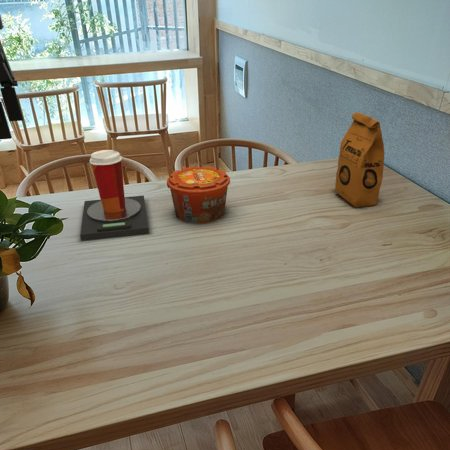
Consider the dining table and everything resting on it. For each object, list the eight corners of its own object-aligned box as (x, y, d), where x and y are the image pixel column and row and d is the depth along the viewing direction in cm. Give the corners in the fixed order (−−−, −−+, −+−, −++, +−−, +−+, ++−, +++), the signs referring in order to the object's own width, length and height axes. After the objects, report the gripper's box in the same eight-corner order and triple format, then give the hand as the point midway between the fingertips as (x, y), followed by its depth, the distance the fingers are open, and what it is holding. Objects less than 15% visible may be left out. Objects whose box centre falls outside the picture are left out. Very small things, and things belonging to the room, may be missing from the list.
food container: (241, 219, 116) (241, 179, 110) (185, 234, 110) (182, 193, 103) (212, 198, 127) (211, 161, 121) (160, 210, 121) (156, 172, 115)
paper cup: (118, 199, 120) (109, 147, 111) (135, 208, 115) (127, 153, 107) (93, 208, 115) (81, 154, 107) (109, 217, 111) (99, 162, 103)
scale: (82, 244, 107) (79, 231, 105) (86, 209, 123) (83, 197, 121) (149, 236, 109) (147, 224, 107) (144, 203, 125) (143, 192, 123)
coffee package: (349, 210, 119) (362, 124, 106) (329, 192, 129) (339, 112, 116) (383, 206, 121) (400, 121, 108) (361, 189, 131) (374, 109, 118)
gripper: (-20, 8, 70) (19, 145, 82) (9, 1, 89) (38, 113, 102) (-72, 9, 68) (-24, 149, 81) (-31, 2, 88) (3, 115, 101)
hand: (10, 129), depth 91 cm, fingers open, 13 cm apart
